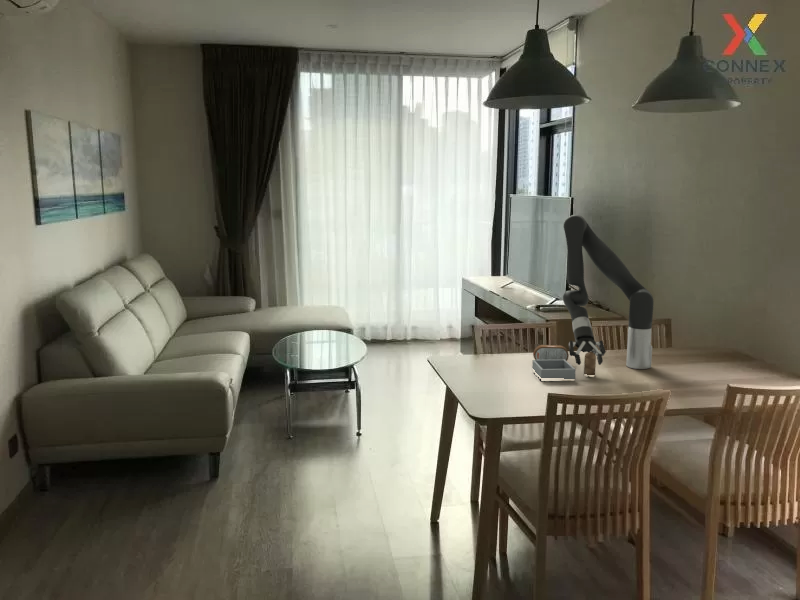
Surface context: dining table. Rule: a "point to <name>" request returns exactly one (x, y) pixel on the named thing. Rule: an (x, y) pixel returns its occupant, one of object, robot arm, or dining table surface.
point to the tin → (550, 352)
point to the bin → (553, 369)
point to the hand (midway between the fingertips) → (590, 363)
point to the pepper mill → (590, 363)
